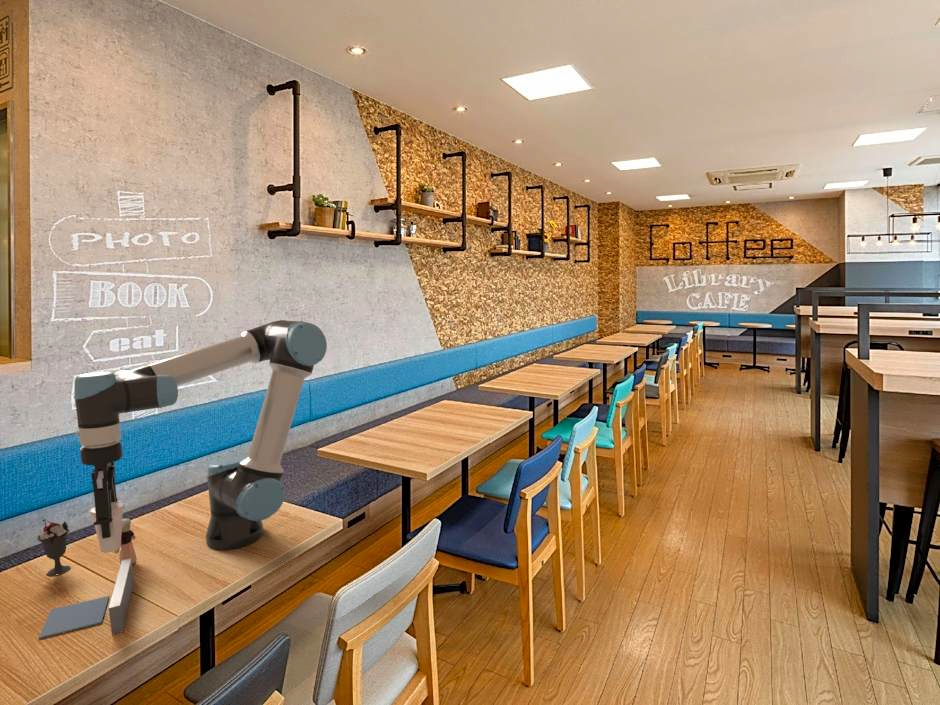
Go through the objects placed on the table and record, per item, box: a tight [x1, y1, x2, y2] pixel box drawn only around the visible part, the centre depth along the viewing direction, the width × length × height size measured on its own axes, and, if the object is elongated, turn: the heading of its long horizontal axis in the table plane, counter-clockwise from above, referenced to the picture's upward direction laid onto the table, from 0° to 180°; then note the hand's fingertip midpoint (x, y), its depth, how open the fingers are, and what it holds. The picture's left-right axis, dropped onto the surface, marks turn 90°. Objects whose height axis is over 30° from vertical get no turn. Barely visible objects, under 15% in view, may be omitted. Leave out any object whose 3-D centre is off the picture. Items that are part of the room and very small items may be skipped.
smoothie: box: [89, 501, 125, 554], centre depth 121 cm, size 6×6×14 cm
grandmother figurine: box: [114, 518, 138, 569], centre depth 142 cm, size 8×4×13 cm, turn 12°
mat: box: [38, 595, 110, 640], centre depth 121 cm, size 11×11×1 cm
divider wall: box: [108, 559, 135, 635], centre depth 124 cm, size 2×22×6 cm, turn 26°
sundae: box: [36, 518, 71, 576], centre depth 140 cm, size 7×7×15 cm
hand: (110, 543), depth 122 cm, fingers closed on smoothie, 6 cm apart
